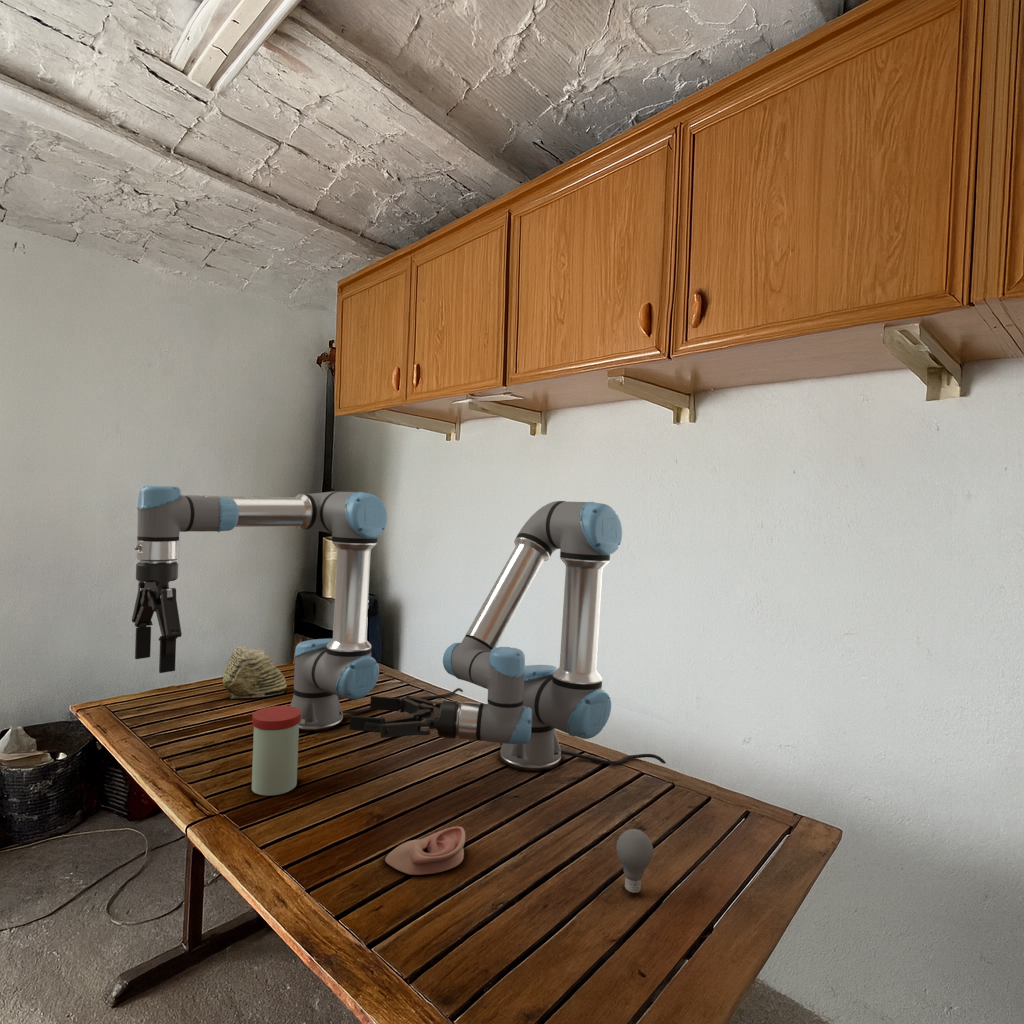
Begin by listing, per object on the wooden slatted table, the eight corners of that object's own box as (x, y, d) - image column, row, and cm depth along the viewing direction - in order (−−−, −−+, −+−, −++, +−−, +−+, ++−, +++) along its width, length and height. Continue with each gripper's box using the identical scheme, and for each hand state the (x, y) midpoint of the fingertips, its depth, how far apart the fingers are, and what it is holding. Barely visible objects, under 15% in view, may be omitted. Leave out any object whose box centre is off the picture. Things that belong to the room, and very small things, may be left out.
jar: (303, 778, 142) (306, 710, 142) (285, 797, 133) (288, 724, 133) (264, 775, 143) (266, 706, 143) (243, 793, 134) (245, 720, 133)
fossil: (218, 695, 195) (220, 647, 195) (278, 685, 208) (279, 640, 207) (228, 703, 189) (230, 653, 188) (289, 692, 201) (290, 645, 201)
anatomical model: (378, 846, 108) (403, 814, 120) (377, 869, 108) (402, 835, 120) (453, 858, 106) (471, 824, 117) (452, 882, 106) (470, 846, 117)
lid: (308, 715, 142) (308, 707, 142) (288, 731, 132) (289, 723, 132) (265, 712, 143) (266, 704, 143) (243, 727, 133) (243, 719, 133)
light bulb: (610, 879, 108) (613, 822, 108) (644, 879, 109) (647, 822, 109) (619, 902, 102) (622, 840, 102) (655, 901, 103) (658, 840, 103)
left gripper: (116, 556, 135) (113, 655, 135) (160, 568, 118) (157, 681, 119) (155, 554, 140) (152, 650, 141) (202, 566, 124) (198, 674, 124)
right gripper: (446, 761, 121) (339, 751, 123) (467, 718, 146) (377, 710, 148) (448, 722, 121) (341, 713, 123) (468, 686, 146) (379, 679, 148)
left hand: (154, 664), depth 130 cm, fingers open, 13 cm apart
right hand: (360, 712), depth 136 cm, fingers open, 13 cm apart
